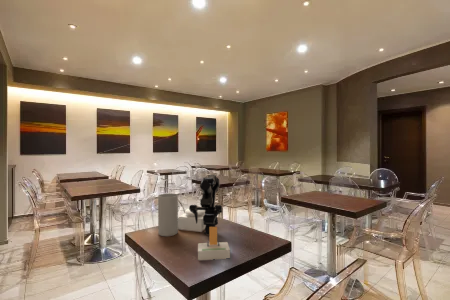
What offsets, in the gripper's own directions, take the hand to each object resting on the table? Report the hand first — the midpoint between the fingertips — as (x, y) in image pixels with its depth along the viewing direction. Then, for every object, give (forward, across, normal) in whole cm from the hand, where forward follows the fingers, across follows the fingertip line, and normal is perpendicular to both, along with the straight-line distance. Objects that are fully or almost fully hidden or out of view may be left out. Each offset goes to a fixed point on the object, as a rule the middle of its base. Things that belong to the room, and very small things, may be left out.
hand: (204, 223), depth 134 cm
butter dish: (-7, -13, +37) cm, 40 cm away
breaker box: (+16, +6, 0) cm, 17 cm away
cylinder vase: (+1, -28, +24) cm, 37 cm away
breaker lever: (+12, +6, -1) cm, 13 cm away
